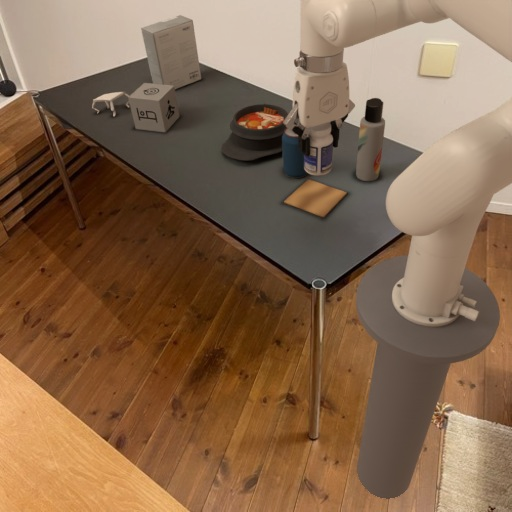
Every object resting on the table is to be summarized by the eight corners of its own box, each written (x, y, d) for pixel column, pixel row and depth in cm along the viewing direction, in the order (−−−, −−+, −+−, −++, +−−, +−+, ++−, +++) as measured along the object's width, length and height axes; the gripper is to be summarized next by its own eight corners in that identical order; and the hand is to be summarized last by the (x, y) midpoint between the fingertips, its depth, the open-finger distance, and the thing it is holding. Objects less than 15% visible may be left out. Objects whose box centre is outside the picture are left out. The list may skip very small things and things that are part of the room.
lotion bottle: (382, 172, 128) (391, 98, 115) (373, 184, 125) (382, 108, 111) (361, 167, 131) (368, 93, 117) (352, 178, 127) (358, 103, 114)
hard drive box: (189, 73, 181) (181, 14, 168) (202, 79, 177) (194, 19, 163) (152, 87, 174) (140, 27, 161) (164, 94, 170) (152, 32, 156)
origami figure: (105, 121, 158) (101, 106, 155) (92, 112, 163) (88, 98, 159) (138, 107, 163) (135, 93, 160) (125, 100, 168) (121, 85, 165)
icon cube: (135, 128, 153) (128, 97, 146) (151, 113, 160) (144, 82, 153) (165, 132, 150) (158, 100, 144) (179, 116, 157) (174, 85, 150)
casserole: (267, 117, 154) (266, 90, 148) (316, 136, 144) (316, 108, 138) (206, 151, 141) (203, 124, 135) (255, 175, 131) (253, 146, 125)
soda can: (314, 175, 129) (315, 133, 121) (289, 182, 128) (289, 140, 119) (302, 162, 134) (302, 120, 126) (278, 169, 132) (277, 127, 124)
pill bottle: (329, 160, 107) (331, 117, 100) (333, 175, 103) (336, 131, 96) (302, 162, 107) (302, 119, 100) (305, 177, 103) (306, 133, 96)
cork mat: (347, 193, 123) (347, 192, 122) (323, 217, 116) (323, 216, 116) (308, 180, 128) (308, 179, 128) (283, 202, 122) (283, 201, 121)
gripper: (288, 78, 84) (289, 170, 97) (374, 55, 89) (365, 145, 102) (268, 62, 89) (271, 151, 102) (351, 42, 94) (344, 129, 107)
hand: (318, 147), depth 102 cm, fingers closed on pill bottle, 5 cm apart
